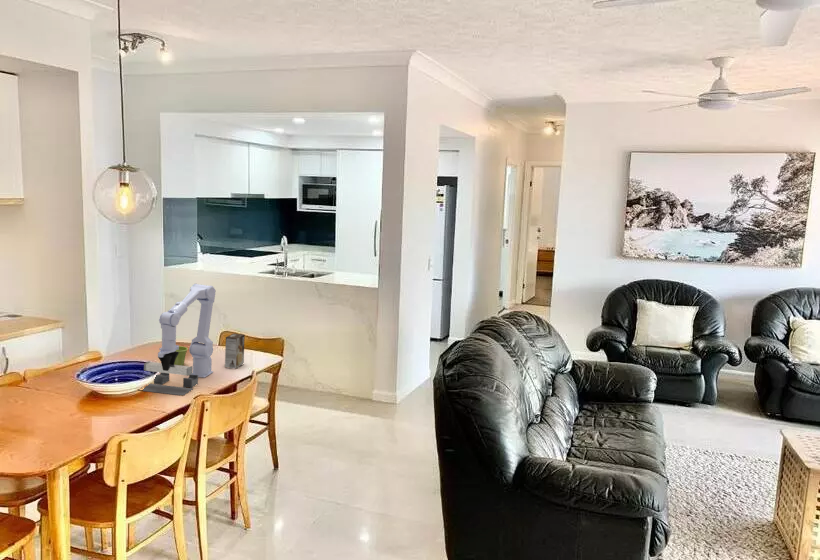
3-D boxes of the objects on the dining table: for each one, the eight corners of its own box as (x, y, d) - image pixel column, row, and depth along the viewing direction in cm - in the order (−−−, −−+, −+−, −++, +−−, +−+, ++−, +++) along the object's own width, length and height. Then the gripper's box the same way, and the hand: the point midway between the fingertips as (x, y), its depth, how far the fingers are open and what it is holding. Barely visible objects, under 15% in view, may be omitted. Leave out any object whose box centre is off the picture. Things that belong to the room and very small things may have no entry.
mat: (149, 384, 272) (149, 383, 272) (193, 389, 270) (193, 388, 270) (137, 390, 264) (137, 389, 263) (183, 395, 261) (183, 395, 261)
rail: (148, 368, 270) (148, 361, 270) (192, 373, 268) (192, 366, 268) (144, 370, 267) (144, 363, 266) (188, 375, 264) (188, 368, 264)
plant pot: (191, 364, 306) (191, 347, 305) (179, 369, 297) (180, 352, 296) (175, 361, 308) (175, 345, 307) (163, 366, 299) (163, 349, 298)
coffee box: (232, 363, 314) (233, 333, 311) (244, 364, 313) (245, 334, 310) (224, 367, 305) (225, 336, 302) (236, 369, 304) (237, 338, 301)
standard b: (161, 379, 280) (161, 370, 279) (169, 380, 279) (169, 371, 279) (153, 383, 274) (153, 374, 273) (162, 384, 273) (162, 375, 273)
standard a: (189, 383, 278) (189, 374, 278) (197, 383, 278) (198, 375, 277) (183, 387, 272) (183, 378, 272) (191, 388, 272) (191, 379, 271)
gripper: (168, 334, 273) (168, 363, 275) (151, 342, 259) (150, 372, 260) (183, 336, 272) (182, 365, 274) (166, 343, 258) (166, 374, 260)
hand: (168, 369), depth 267 cm, fingers closed on rail, 4 cm apart
